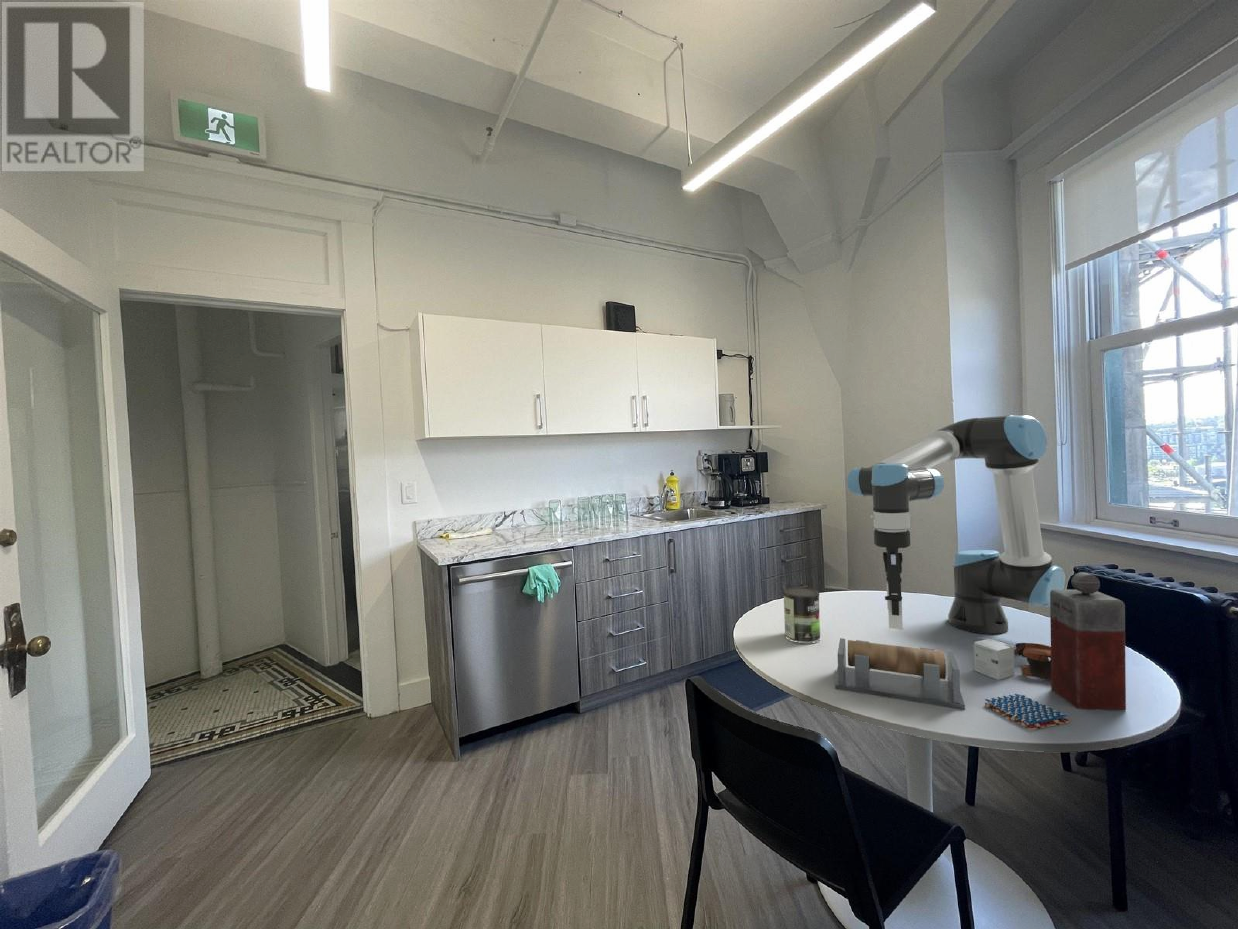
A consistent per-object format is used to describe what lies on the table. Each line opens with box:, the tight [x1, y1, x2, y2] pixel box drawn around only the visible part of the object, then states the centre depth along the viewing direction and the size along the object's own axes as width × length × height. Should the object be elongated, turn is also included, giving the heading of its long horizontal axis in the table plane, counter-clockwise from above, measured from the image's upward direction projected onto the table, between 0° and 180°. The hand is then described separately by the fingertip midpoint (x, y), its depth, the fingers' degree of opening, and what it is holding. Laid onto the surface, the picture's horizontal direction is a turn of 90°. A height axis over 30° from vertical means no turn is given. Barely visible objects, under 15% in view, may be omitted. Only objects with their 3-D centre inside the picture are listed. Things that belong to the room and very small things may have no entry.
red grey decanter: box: [1049, 572, 1127, 711], centre depth 113 cm, size 9×11×28 cm
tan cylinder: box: [847, 639, 947, 680], centre depth 121 cm, size 20×6×6 cm, turn 63°
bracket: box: [834, 637, 966, 710], centre depth 121 cm, size 26×11×8 cm, turn 63°
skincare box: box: [973, 638, 1015, 681], centre depth 126 cm, size 6×6×7 cm
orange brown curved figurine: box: [1014, 642, 1051, 681], centre depth 125 cm, size 12×10×8 cm
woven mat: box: [984, 693, 1070, 731], centre depth 107 cm, size 10×11×2 cm
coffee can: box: [782, 586, 821, 644], centre depth 154 cm, size 10×10×14 cm
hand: (894, 618), depth 120 cm, fingers open, 13 cm apart
